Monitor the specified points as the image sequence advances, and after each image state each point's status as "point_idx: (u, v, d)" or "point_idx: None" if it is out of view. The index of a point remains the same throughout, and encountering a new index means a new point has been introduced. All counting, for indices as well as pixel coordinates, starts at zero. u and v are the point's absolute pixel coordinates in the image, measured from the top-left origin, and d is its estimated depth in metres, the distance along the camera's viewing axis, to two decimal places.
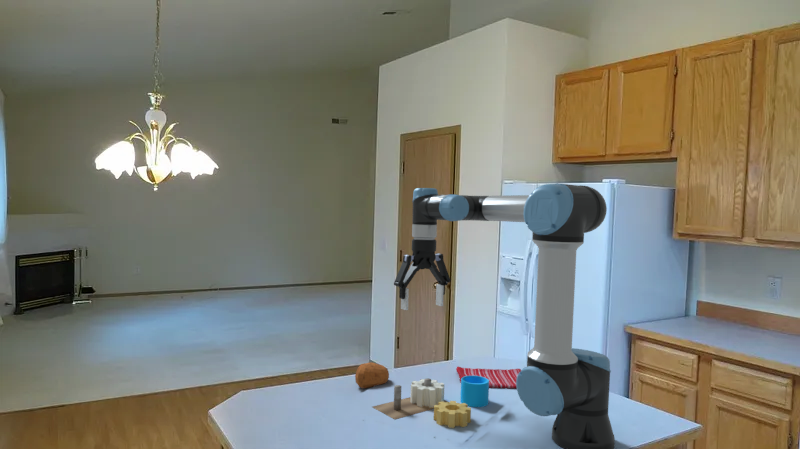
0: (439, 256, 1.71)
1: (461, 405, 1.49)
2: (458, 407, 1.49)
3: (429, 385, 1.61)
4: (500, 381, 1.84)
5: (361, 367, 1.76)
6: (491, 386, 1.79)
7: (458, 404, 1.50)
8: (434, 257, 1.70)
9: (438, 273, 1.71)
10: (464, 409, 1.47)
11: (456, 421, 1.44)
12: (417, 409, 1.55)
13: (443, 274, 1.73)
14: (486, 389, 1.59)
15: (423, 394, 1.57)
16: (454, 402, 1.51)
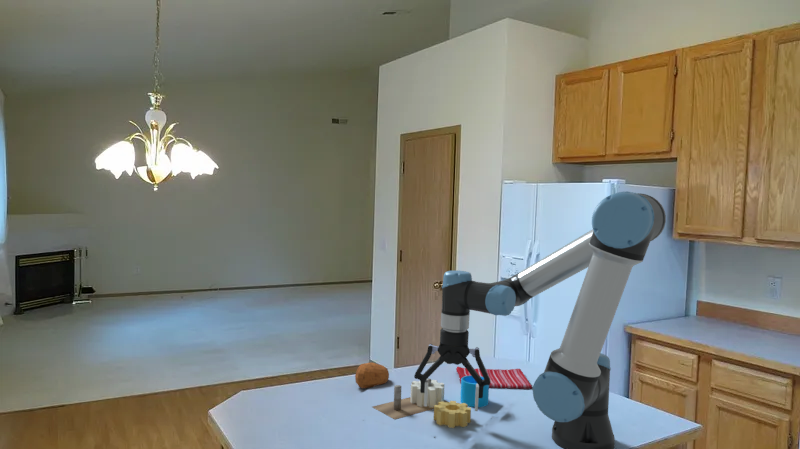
0: (474, 352, 1.46)
1: (461, 405, 1.49)
2: (458, 407, 1.49)
3: (429, 385, 1.61)
4: (500, 381, 1.84)
5: (361, 367, 1.76)
6: (491, 386, 1.79)
7: (458, 404, 1.50)
8: (466, 352, 1.46)
9: (471, 372, 1.46)
10: (464, 409, 1.47)
11: (456, 421, 1.44)
12: (417, 409, 1.55)
13: (482, 374, 1.46)
14: (486, 389, 1.59)
15: (423, 394, 1.57)
16: (454, 402, 1.51)
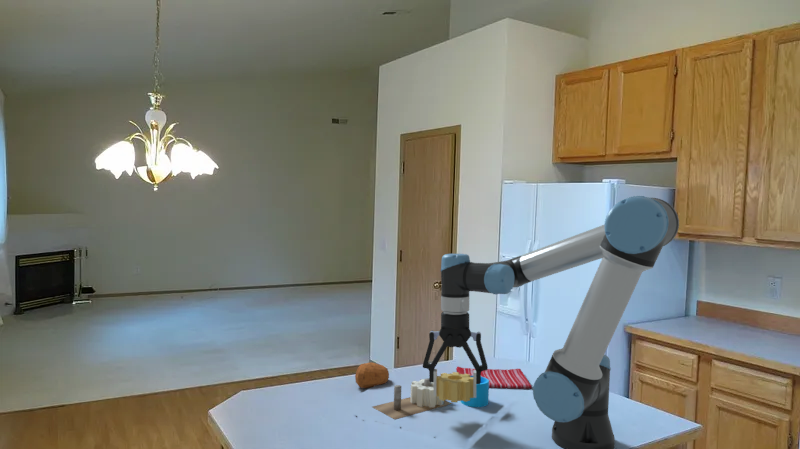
0: (476, 335, 1.45)
1: (463, 375, 1.49)
2: (461, 377, 1.48)
3: (429, 385, 1.61)
4: (500, 381, 1.84)
5: (361, 367, 1.76)
6: (491, 386, 1.79)
7: (461, 375, 1.49)
8: (467, 335, 1.45)
9: (470, 356, 1.45)
10: (467, 379, 1.46)
11: (459, 390, 1.44)
12: (417, 409, 1.55)
13: (480, 358, 1.46)
14: (486, 389, 1.59)
15: (423, 394, 1.57)
16: (456, 373, 1.51)
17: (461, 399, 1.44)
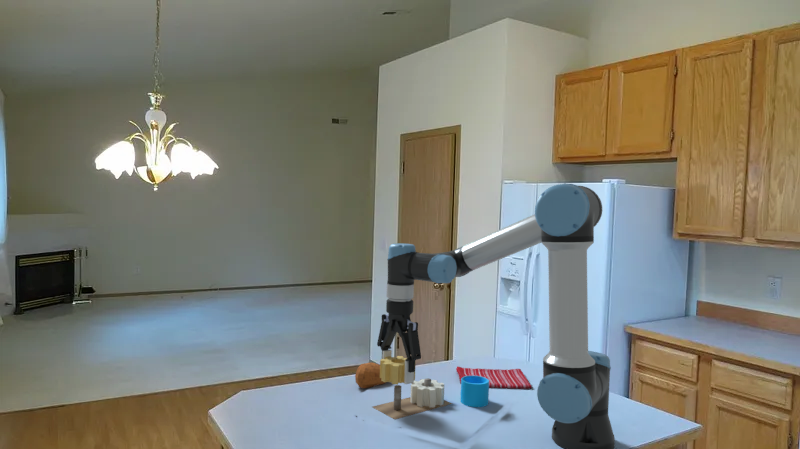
0: None
1: None
2: None
3: (429, 385, 1.61)
4: (500, 381, 1.84)
5: (361, 367, 1.76)
6: (491, 386, 1.79)
7: None
8: (403, 322, 1.51)
9: (404, 343, 1.50)
10: (402, 364, 1.51)
11: (389, 372, 1.51)
12: (417, 409, 1.55)
13: None
14: (486, 389, 1.59)
15: (423, 394, 1.57)
16: None
17: (391, 381, 1.51)
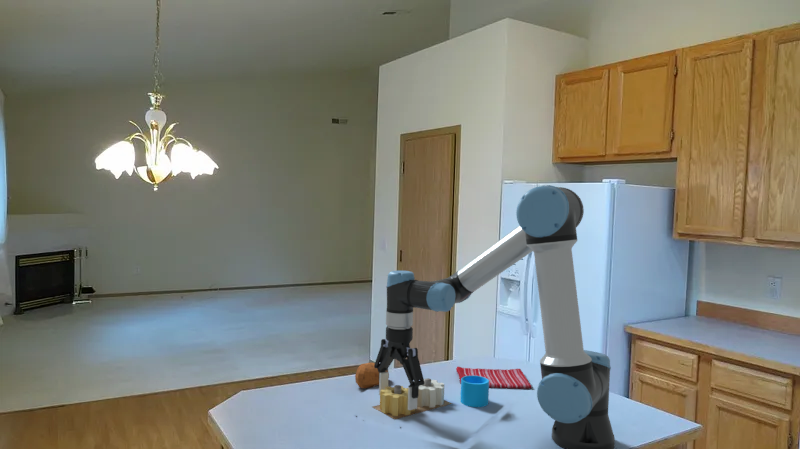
0: None
1: None
2: None
3: (429, 385, 1.61)
4: (499, 381, 1.84)
5: (361, 367, 1.76)
6: (491, 386, 1.79)
7: (407, 391, 1.55)
8: (403, 350, 1.51)
9: (406, 370, 1.50)
10: (402, 395, 1.52)
11: (389, 403, 1.52)
12: (417, 409, 1.55)
13: None
14: (486, 389, 1.59)
15: (423, 394, 1.57)
16: None
17: (391, 412, 1.51)
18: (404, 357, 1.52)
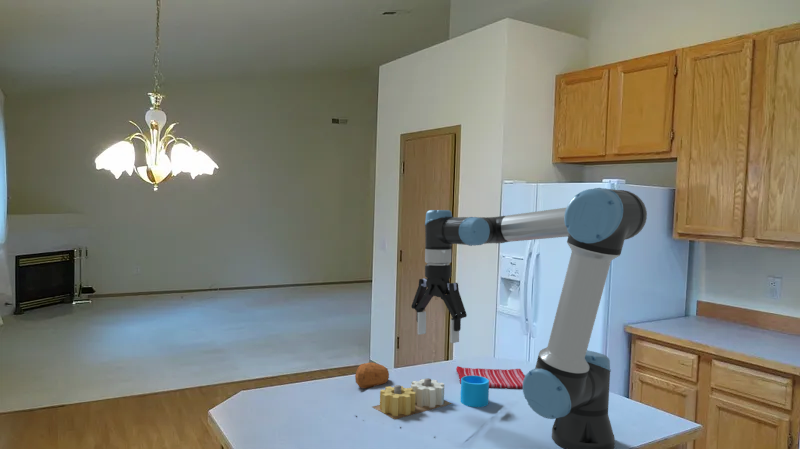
0: None
1: (408, 392, 1.54)
2: None
3: (429, 385, 1.61)
4: (499, 381, 1.84)
5: (361, 367, 1.76)
6: (490, 386, 1.80)
7: (407, 391, 1.55)
8: (443, 285, 1.54)
9: (447, 304, 1.53)
10: (402, 395, 1.52)
11: (389, 403, 1.52)
12: (417, 409, 1.55)
13: None
14: (486, 389, 1.59)
15: (423, 394, 1.57)
16: (409, 389, 1.57)
17: (391, 412, 1.51)
18: (444, 293, 1.55)
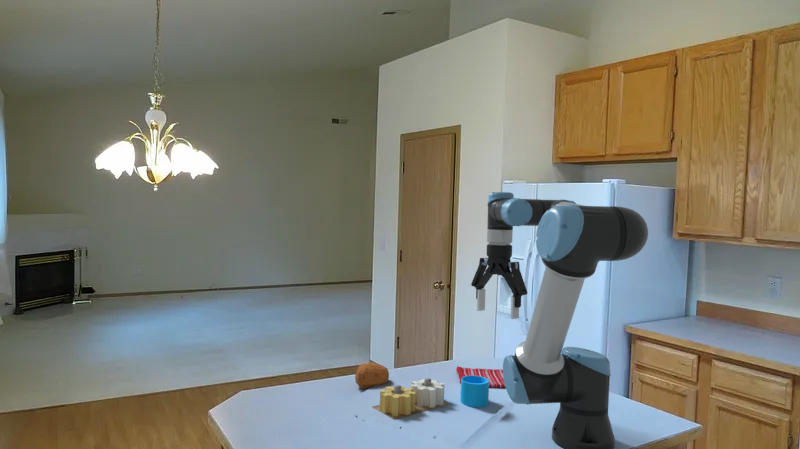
0: None
1: (408, 392, 1.54)
2: None
3: (429, 385, 1.61)
4: (499, 381, 1.84)
5: (361, 367, 1.76)
6: (490, 386, 1.80)
7: (407, 391, 1.55)
8: (504, 264, 1.62)
9: (508, 282, 1.61)
10: (402, 395, 1.52)
11: (389, 403, 1.52)
12: (417, 409, 1.55)
13: None
14: (486, 389, 1.59)
15: (423, 394, 1.57)
16: (409, 389, 1.57)
17: (391, 412, 1.51)
18: (505, 271, 1.63)
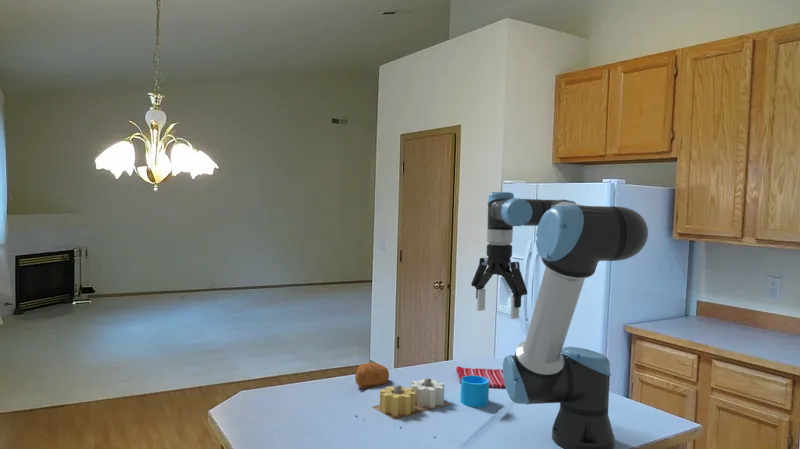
0: None
1: (408, 392, 1.54)
2: None
3: (429, 385, 1.61)
4: (499, 381, 1.84)
5: (361, 367, 1.76)
6: (490, 386, 1.80)
7: (407, 391, 1.55)
8: (505, 264, 1.62)
9: (508, 282, 1.61)
10: (402, 395, 1.52)
11: (389, 403, 1.52)
12: (417, 409, 1.55)
13: None
14: (486, 389, 1.59)
15: (423, 394, 1.57)
16: (409, 389, 1.57)
17: (391, 412, 1.51)
18: (505, 271, 1.63)
